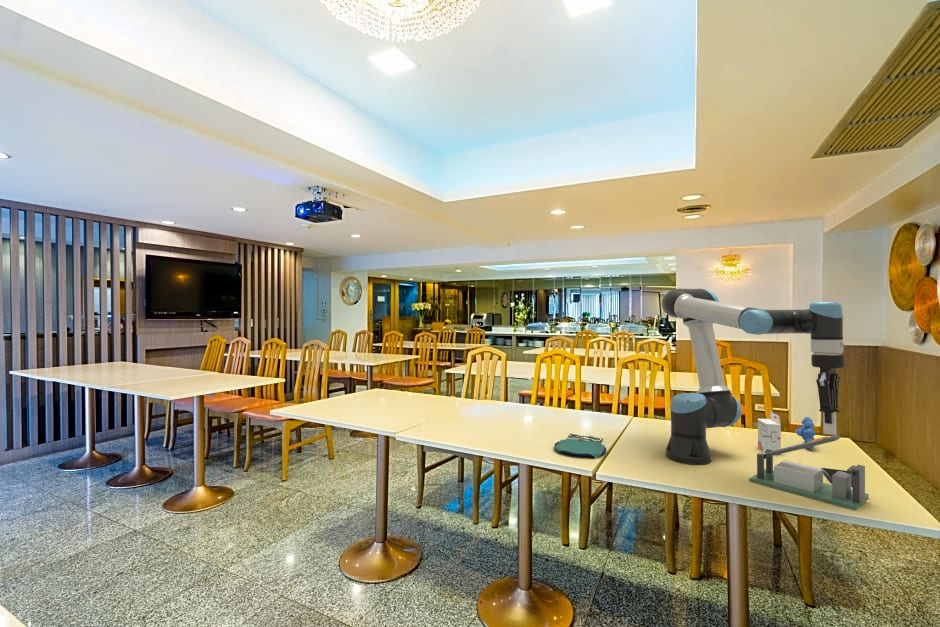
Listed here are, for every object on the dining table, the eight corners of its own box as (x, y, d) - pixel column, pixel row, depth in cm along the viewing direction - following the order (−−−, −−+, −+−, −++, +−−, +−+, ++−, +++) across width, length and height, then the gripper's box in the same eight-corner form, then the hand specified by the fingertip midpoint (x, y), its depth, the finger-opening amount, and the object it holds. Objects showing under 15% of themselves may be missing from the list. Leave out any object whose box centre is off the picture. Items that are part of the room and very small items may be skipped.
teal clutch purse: (548, 454, 167) (549, 448, 167) (565, 436, 194) (565, 431, 194) (602, 462, 158) (602, 456, 158) (612, 442, 186) (612, 436, 186)
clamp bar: (760, 460, 141) (757, 454, 142) (766, 457, 144) (763, 451, 145) (836, 442, 126) (833, 435, 126) (841, 439, 129) (838, 433, 129)
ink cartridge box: (756, 447, 175) (756, 410, 175) (770, 448, 174) (770, 411, 174) (766, 454, 166) (766, 415, 166) (781, 455, 165) (781, 416, 165)
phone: (831, 482, 137) (819, 467, 150) (831, 486, 137) (819, 470, 150) (864, 486, 133) (849, 470, 147) (864, 490, 133) (849, 474, 147)
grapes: (792, 442, 181) (792, 413, 181) (812, 444, 178) (812, 415, 178) (797, 450, 171) (797, 419, 171) (819, 452, 168) (819, 421, 168)
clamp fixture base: (749, 481, 140) (749, 450, 140) (766, 471, 148) (766, 442, 148) (855, 510, 119) (855, 473, 119) (868, 497, 127) (868, 463, 127)
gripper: (837, 355, 122) (839, 440, 122) (849, 353, 130) (852, 432, 130) (804, 354, 128) (807, 435, 128) (818, 352, 136) (821, 428, 136)
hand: (830, 434), depth 129 cm, fingers closed
